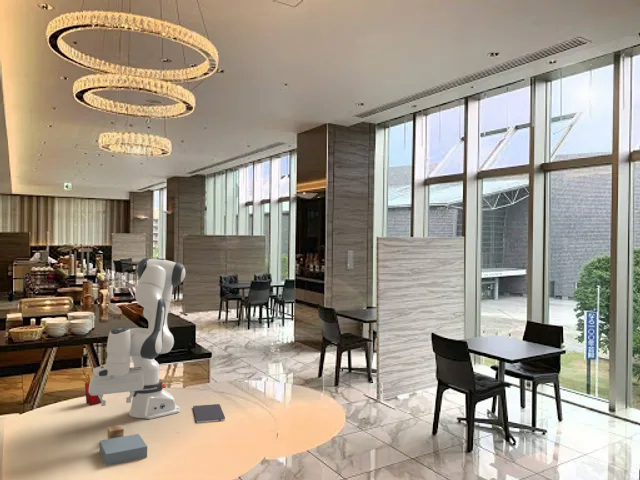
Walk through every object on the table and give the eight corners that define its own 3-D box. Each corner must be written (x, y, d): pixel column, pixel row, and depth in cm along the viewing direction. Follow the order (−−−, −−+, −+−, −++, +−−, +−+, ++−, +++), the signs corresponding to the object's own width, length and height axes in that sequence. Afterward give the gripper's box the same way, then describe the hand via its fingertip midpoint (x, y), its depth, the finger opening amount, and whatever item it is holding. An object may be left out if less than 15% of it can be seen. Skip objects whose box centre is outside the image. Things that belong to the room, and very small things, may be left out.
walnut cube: (120, 437, 195) (121, 425, 195) (123, 441, 191) (123, 429, 191) (107, 439, 192) (107, 427, 192) (109, 444, 188) (110, 431, 188)
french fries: (96, 400, 240) (97, 370, 241) (105, 403, 236) (107, 372, 236) (79, 404, 233) (80, 373, 234) (88, 408, 228) (89, 376, 229)
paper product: (192, 409, 233) (196, 424, 213) (193, 405, 233) (196, 420, 213) (219, 407, 237) (225, 421, 217) (219, 403, 237) (225, 418, 217)
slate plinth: (138, 444, 188) (138, 433, 189) (147, 457, 177) (147, 446, 177) (99, 451, 181) (99, 440, 181) (105, 465, 169) (106, 454, 169)
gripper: (143, 364, 200) (141, 398, 200) (89, 369, 189) (87, 405, 188) (146, 367, 195) (145, 402, 194) (91, 372, 184) (89, 409, 183)
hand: (116, 403), depth 191 cm, fingers open, 8 cm apart
